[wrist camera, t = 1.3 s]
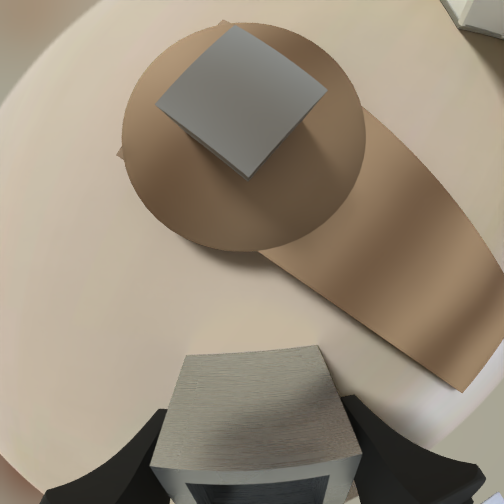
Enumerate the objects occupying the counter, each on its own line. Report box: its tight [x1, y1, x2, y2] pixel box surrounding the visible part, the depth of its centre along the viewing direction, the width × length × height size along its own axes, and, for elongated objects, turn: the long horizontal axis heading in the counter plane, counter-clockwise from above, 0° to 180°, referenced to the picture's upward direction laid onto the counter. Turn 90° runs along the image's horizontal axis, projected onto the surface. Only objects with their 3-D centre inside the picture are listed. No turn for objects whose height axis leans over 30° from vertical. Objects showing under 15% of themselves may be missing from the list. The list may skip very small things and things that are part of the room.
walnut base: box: [117, 20, 504, 393], centre depth 8 cm, size 21×8×4 cm, turn 55°
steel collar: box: [150, 345, 362, 504], centre depth 9 cm, size 6×6×6 cm
